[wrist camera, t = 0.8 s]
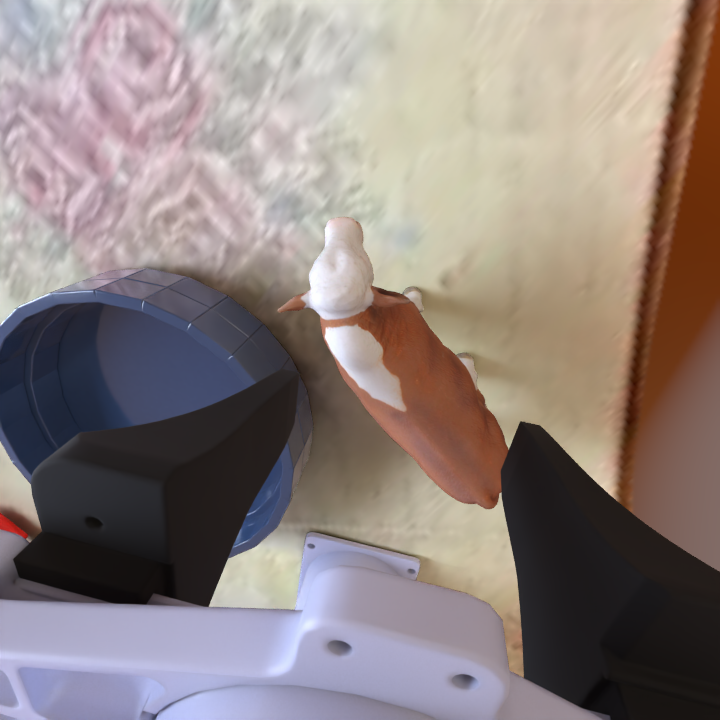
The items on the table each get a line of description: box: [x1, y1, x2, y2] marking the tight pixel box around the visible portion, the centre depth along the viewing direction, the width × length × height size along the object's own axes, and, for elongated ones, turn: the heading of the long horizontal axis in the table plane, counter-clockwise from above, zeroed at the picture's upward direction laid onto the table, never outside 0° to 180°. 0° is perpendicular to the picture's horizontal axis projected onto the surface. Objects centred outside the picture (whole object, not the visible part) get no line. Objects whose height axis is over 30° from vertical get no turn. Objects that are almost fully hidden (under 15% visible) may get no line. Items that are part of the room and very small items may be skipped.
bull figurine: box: [277, 217, 508, 509], centre depth 18 cm, size 4×13×8 cm, turn 33°
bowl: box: [0, 268, 313, 558], centre depth 25 cm, size 17×17×4 cm
